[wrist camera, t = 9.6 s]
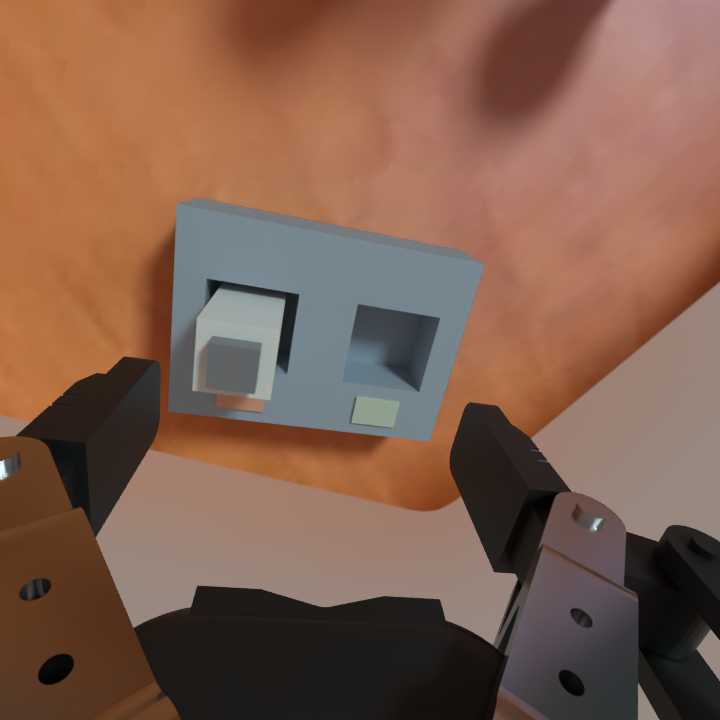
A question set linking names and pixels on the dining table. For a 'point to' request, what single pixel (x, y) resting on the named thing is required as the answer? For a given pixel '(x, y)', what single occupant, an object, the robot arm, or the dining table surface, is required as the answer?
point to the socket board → (326, 319)
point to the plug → (238, 341)
